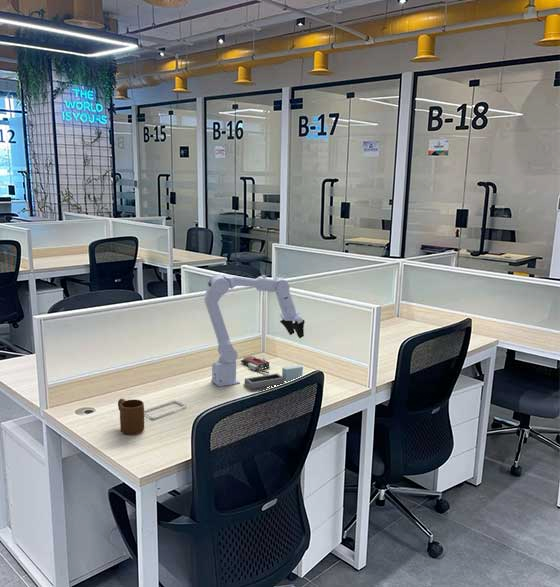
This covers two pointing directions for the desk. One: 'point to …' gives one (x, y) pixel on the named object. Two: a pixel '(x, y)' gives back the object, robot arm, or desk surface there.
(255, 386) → the grey rectangular tray
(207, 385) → the desk surface
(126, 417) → the mug
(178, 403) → the grey rectangular frame
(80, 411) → the desk surface
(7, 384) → the desk surface
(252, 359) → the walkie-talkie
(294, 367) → the blue-grey block
